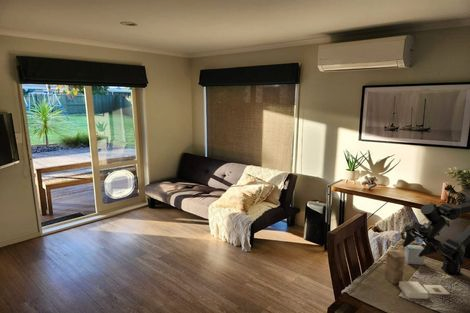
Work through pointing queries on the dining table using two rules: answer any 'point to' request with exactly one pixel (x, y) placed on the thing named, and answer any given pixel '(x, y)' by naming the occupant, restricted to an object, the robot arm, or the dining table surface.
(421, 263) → the medicine box
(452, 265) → the robot arm
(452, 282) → the dining table surface
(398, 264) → the brown tall block
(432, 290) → the card
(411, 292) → the base block
